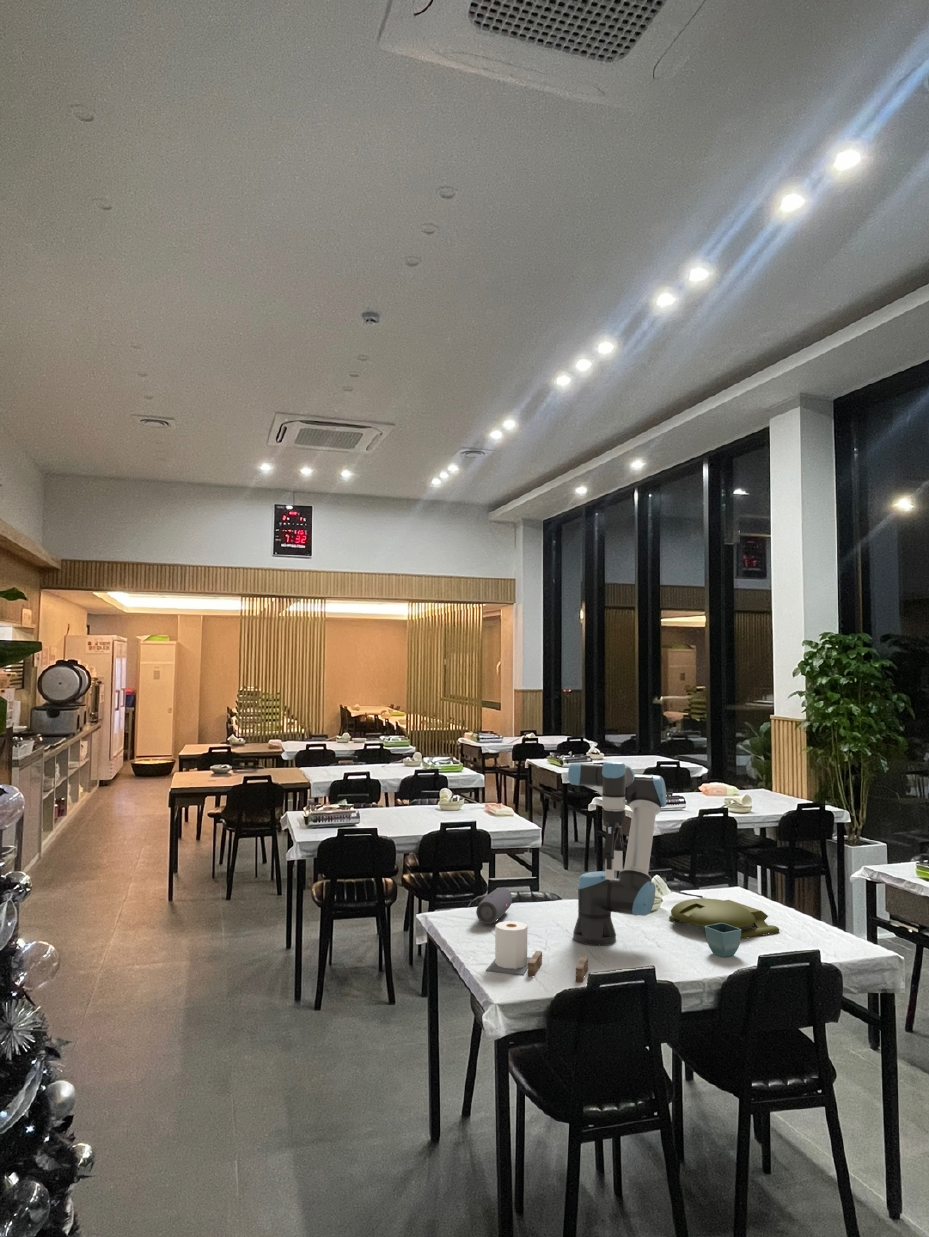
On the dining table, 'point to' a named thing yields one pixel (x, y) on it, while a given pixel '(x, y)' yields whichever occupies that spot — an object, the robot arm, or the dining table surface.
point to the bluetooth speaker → (494, 905)
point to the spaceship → (722, 915)
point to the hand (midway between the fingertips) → (614, 874)
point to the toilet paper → (511, 944)
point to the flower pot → (723, 939)
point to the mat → (518, 971)
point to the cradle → (537, 962)
